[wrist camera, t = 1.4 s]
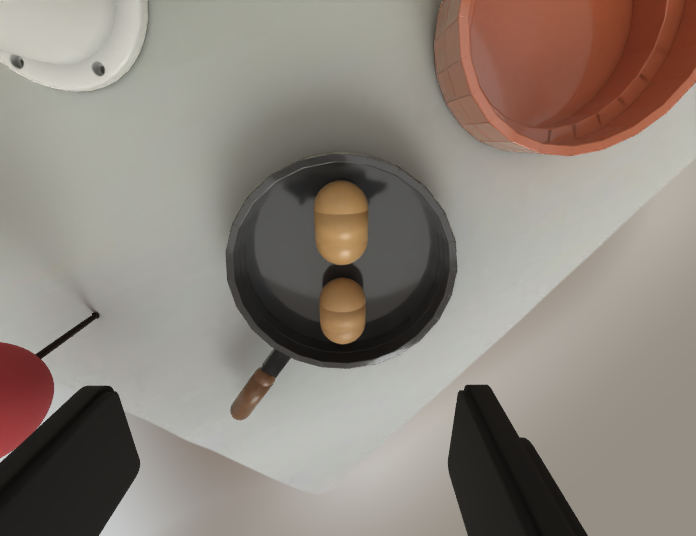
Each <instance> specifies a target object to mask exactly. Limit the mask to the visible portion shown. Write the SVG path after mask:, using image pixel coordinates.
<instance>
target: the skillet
mask: <svg viewBox="0 0 696 536" xmlns="http://www.w3.org/2000/svg"><path fill="white" fill-rule="evenodd" d="M338 180H344V181H348V182H352V183H353V184H355V185H357V186H358V187H359V188H360V189H361V190H362V191H363V192H364V194H365V196H366V198H367V201H368V242H367V247H366V250H365V251H364V253H363V255H362V256H361V257H360V258H359V259H357V260H356V261H355V262H353V263H350V264H347V265H337V264H333V263H330V262H329V261H327V260H326V259H324V258H323V257H322V256H321V254H320V253H319V251H318V249H317V247H316V242H315V227H314V202H315V198H316V196H317V194H318V192H319V191H320V190H321V189H322V188H323V187H324V186H325V185H327V184H328V183H330V182H333V181H338ZM226 267H227V281H228V284H229V287H230V290H231V292H232V295H233V298H234V301H235V304H236V306H237V308H238V310H239V311H240V313H241V314H242V316H243V317H244V319H245V320H246V321H247V323H248V324H249V326H250V327H251V329H252V330H253V331H254V332H255V333H257V334H258V335H259V336H260V337H261V338H262V339H263V340H264V341H266V342H267V343H268V344H269V345H270V346H271V347H273V348H274V349H276V350H278V351H280V352H282V353H284V354H285V355H287V356H289V357H291V358H293V359H295V360H298V361H301V362H305V363H308V364H312V365H315V366H319V367H327V368H344V369H350V368H356V367H362V366H369V365H374V364H377V363H380V362H382V361H385V360H387V359H390V358H392V357H395V356H397V355H400V354H401V353H403V352H404V351H406V350H407V349H408V348H410V347H411V346H413V345H414V344H416V343H417V342H419V341H420V340H421V339H422V338H423V337H424V336H425V335H426V334H427V333H428V332H429V330H430V329H431V328H432V327H433V326H434V325H435V324H436V323H437V322H438V320H439V319H440V317H441V315H442V313H443V311H444V309H445V307H446V305H447V304H448V302H449V300H450V298H451V296H452V291H453V287H454V282H455V278H456V273H457V256H456V241H455V238H454V235H453V232H452V230H451V227H450V224H449V222H448V219H447V216H446V213H445V212H444V210H443V209H442V208H441V206H440V205H439V204H438V202H437V201H436V200H435V198H434V197H433V196H432V194H431V193H430V192H429V190H428V189H427V188H426V187H425V186H424V185H422V184H421V183H420V182H418V181H417V180H416V179H414V178H413V177H412V176H410V175H409V174H408V173H406V172H405V171H404V170H402V169H401V168H399V167H397V166H396V165H394V164H391V163H389V162H386V161H383V160H381V159H378V158H375V157H373V156H370V155H367V154H361V153H352V152H337V151H336V152H330V153H325V154H319V155H314V156H309V157H306V158H303V159H301V160H299V161H297V162H295V163H293V164H291V165H289V166H287V167H285V168H283V169H281V170H280V171H278V172H276V173H274V174H272V175H270V176H269V177H268V178H267V179H266V180H265V181H264V182H263V183H262V184H261V185H260V186H259V187H258V188H257V189H256V190H254V191H253V192H252V193H251V194H250V195H249V196H248V198H247V199H246V201H245V202H244V204H243V206H242V208H241V209H240V211H239V213H238V215H237V216H236V218H235V220H234V222H233V224H232V227H231V231H230V236H229V240H228V244H227V249H226ZM336 278H349V279H352V280H354V281H355V282H357V283H358V284H359V285H360V286H361V288H362V289H363V291H364V294H365V298H366V315H365V327H364V330H363V332H362V334H361V335H360V337H359V338H357V339H356V340H355V341H353V342H351V343H348V344H338V343H335V342H332V341H331V340H329V339H328V338H327V337H326V336H325V335H324V333H323V331H322V329H321V324H320V307H319V298H320V294H321V291H322V289H323V287H324V286H325V285H326V284H327V283H328V282H330V281H331V280H333V279H336Z"/></svg>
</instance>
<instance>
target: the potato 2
mask: <svg viewBox="0 0 696 536" xmlns="http://www.w3.org/2000/svg"><path fill="white" fill-rule="evenodd" d="M319 307H320V324H321V329H322V331H323V333H324V335H325V336H326V337H327V338H328V339H329V340H331V341H332V342H335V343H338V344H348V343H351V342H353V341H355V340H356V339H357V338H359V337H360V335H361V334H362V332H363V330H364V327H365V315H366V298H365V294H364V291H363V289H362V288H361V286H360V285H359V284H358V283H357V282H355V281H354V280H352V279H349V278H336V279H333V280H331V281H330V282H328V283H327V284H326V285H325V286H324V287H323V289H322V291H321V294H320V298H319Z"/></svg>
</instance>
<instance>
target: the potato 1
mask: <svg viewBox="0 0 696 536" xmlns="http://www.w3.org/2000/svg"><path fill="white" fill-rule="evenodd" d="M314 227H315V242H316V247H317V249H318V251H319V253H320V254H321V256H322V257H323V258H324V259H326V260H327V261H329V262H330V263H333V264H337V265H347V264H350V263H353V262H355V261H356V260H357V259H359V258H360V257H361V256H362V255H363V253H364V251H365V250H366V247H367V242H368V201H367V198H366V196H365V194H364V192H363V191H362V190H361V189H360V188H359V187H358V186H357V185H355V184H353V183H352V182H348V181H344V180H338V181H333V182H330V183H328V184H327V185H325V186H324V187H323V188H322V189H321V190H320V191H319V192H318V194H317V196H316V198H315V202H314Z"/></svg>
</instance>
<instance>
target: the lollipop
mask: <svg viewBox="0 0 696 536" xmlns="http://www.w3.org/2000/svg"><path fill="white" fill-rule="evenodd" d="M98 318H99V314H98V313H95V312H94V313H92V315H91V316H90V317H89V318H87V319H86V320H84V321H83V322H81V323H80V324H78V325H77V326H75V327H74V328H73V329H71V330H70V331H68V332H67V333H65V334H64V335H63V336H61V337H60V338H58V339H57V340H55V341H54V342H53V343H51V344H50V345H48V346H47V347H45V348H44V349H43V350H41V351H40V352H38V353H37V354H33V353H32V352H30V351H28V350H26V349H24V348H22V347H19V346H16V345H12V344H8V343H2V342H0V458H1V457H3V456H5V455H6V454H8V453H10V452H11V451H13V450H14V449H15V448H17V447H18V446H19V445H20V444H21V443H22V442H23V441H24V440H25V439H27V438H28V437H29V436H30V435H31V434H32V433H33V432H34V431H35V430H36V429H37V428H38V426H39V425H40V424H41V422H42V421H43V419H44V418H45V416H46V414H47V412H48V410H49V408H50V405H51V403H52V399H53V394H54V382H53V377H52V375H51V372H50V370H49V369H48V367H47V366H46V364H45V363H44V362H43V361H42V360H41V359H42V358H43V357H44V356H46V355H47V354H49V353H50V352H51V351H53V350H54V349H55V348H57V347H58V346H59V345H61V344H62V343H64V342H65V341H66V340H68V339H69V338H70V337H72V336H73V335H74V334H76V333H77V332H78V331H80V330H81V329H83V328H84V327H85V326H87V325H88V324H89V323H91V322H92V321H93V320H95V319H98Z"/></svg>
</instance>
